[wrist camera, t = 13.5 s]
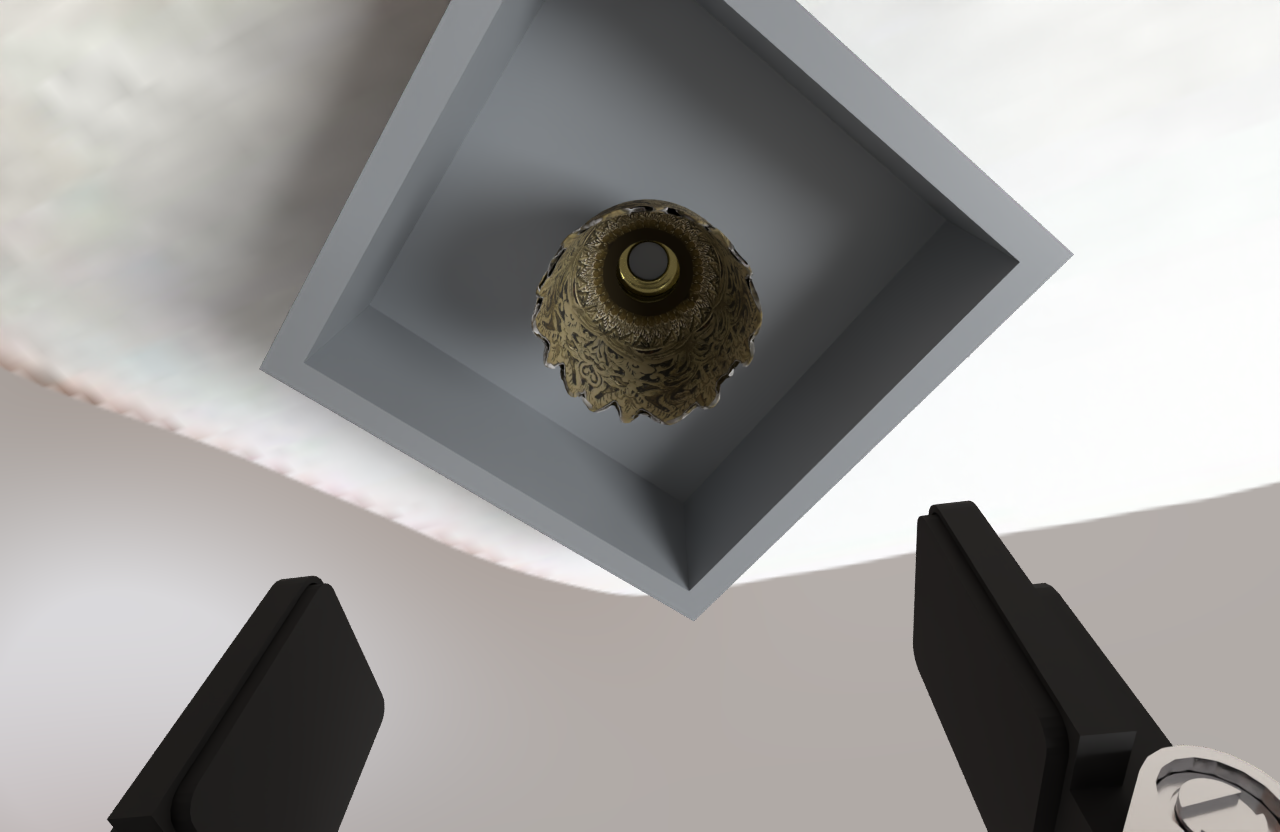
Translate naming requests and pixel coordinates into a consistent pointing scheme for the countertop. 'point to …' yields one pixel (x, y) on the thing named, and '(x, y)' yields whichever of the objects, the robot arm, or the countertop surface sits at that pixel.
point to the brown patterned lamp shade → (647, 313)
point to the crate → (654, 270)
